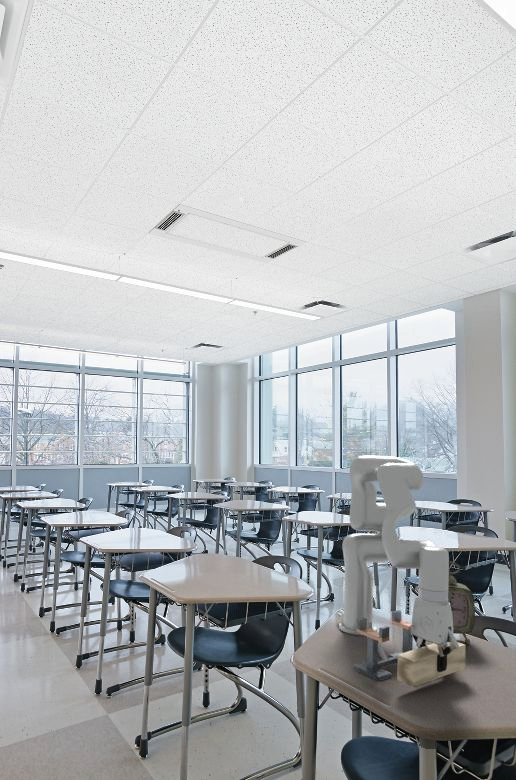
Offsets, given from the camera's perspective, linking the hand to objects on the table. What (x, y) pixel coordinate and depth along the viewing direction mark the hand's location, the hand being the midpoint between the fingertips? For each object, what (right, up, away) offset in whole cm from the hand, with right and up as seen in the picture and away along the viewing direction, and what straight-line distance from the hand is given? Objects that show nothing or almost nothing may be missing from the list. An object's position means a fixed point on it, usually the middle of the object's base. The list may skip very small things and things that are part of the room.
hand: (432, 666), depth 139 cm
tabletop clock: (+17, -10, +35) cm, 40 cm away
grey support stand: (-8, -6, +10) cm, 14 cm away
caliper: (-9, -7, +22) cm, 25 cm away
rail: (0, -2, 0) cm, 2 cm away
